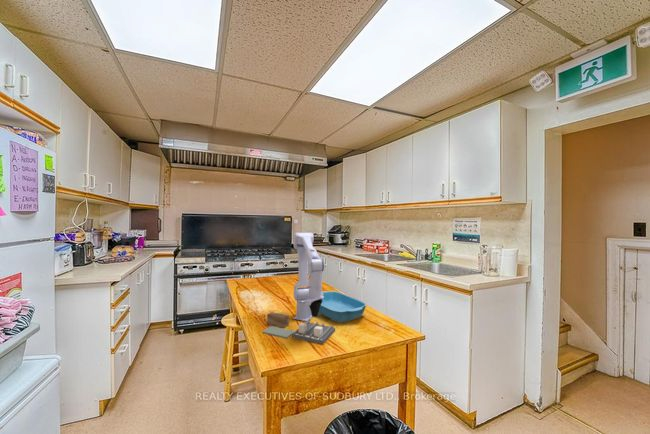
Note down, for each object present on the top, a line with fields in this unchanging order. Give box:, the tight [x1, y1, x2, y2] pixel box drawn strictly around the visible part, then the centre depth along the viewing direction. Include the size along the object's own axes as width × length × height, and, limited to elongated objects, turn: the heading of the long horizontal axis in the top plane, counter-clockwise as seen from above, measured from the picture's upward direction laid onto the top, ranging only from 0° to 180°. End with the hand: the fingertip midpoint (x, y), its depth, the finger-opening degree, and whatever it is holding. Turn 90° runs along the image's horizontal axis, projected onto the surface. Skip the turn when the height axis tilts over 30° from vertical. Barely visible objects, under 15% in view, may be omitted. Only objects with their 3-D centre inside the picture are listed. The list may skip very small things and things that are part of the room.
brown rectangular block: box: [266, 311, 290, 329], centre depth 128 cm, size 4×10×5 cm, turn 66°
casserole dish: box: [318, 290, 367, 323], centre depth 146 cm, size 37×22×7 cm, turn 35°
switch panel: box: [290, 319, 336, 345], centre depth 119 cm, size 14×15×2 cm
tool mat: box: [261, 325, 295, 339], centre depth 119 cm, size 6×13×1 cm, turn 67°
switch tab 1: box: [297, 322, 307, 333], centre depth 117 cm, size 2×3×3 cm
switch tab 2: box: [314, 326, 323, 337], centre depth 114 cm, size 2×3×3 cm
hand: (314, 316), depth 117 cm, fingers closed
